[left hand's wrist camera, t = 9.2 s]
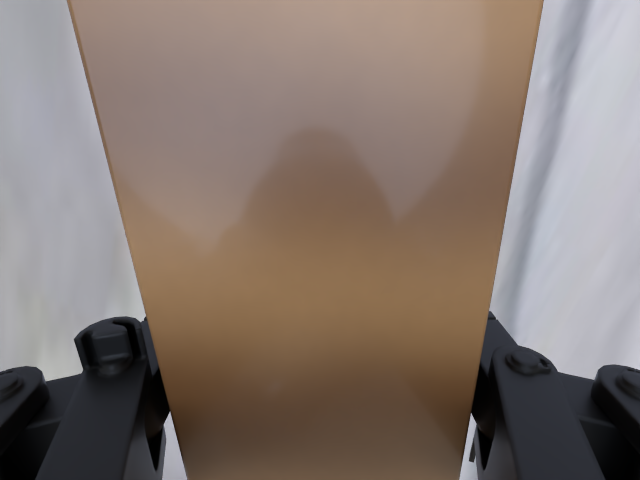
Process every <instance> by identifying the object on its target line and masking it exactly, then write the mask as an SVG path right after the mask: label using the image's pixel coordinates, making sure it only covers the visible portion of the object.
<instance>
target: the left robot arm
mask: <svg viewBox="0 0 640 480" xmlns="http://www.w3.org/2000/svg"><path fill="white" fill-rule="evenodd" d="M74 341H75V345H76V348H77V351H78V354H79V357H80V360H81V364H82V367H83V372H82V374H78V375H74V376H69V377H65V378H60V379H56V380H51V381H45V379H44V376H43V373H42V371H41V370H39V369H38V368H37V367H29V366H24V367H17V368H12V369H8V370H6V371H2V372H0V480H162V474H163V465H164V456H165V446H166V435H165V429H164V423H165V420H166V418H167V416H168V414H169V412H170V408H169V404H168V400H167V396H166V392H165V388H164V384H163V380H162V376H161V372H160V368H159V364H158V360H157V356H156V352H155V349H154V345H153V341H152V337H151V333H150V329H149V325H148V321H147V317H145V318H144V321H142V322H139V321H138V320H137V319H136V318H131V317H114V318H109V319H105V320H102V321H99V322H97V323H94V324H92V325H90V326H88V327H87V328H85V329H84V330H82V331H81V332H80V333H79V334H78V335H77V336H76V337H75V338H74ZM471 413H472V415H473V417H474V419H475V421H476V424H477V425H476V429H475V434H474V438H473V443H472V447H471V452H470V457H469V461H470V462H474V459H475V455H476V464H477V473H478V480H640V370H638V369H634V368H631V367H627V366H621V365H605V366H603V367H601V368H600V369H599V370H598V372H597V375H596V377H595V380H592V379H587V378H582V377H578V376H573V375H568V374H564V373H560V372H558V371H557V369H556V368H555V366H554V365H553V364H552V362H551V361H550V360H548V359H547V358H546V357H544V356H543V355H542V354H540V353H538V352H536V351H534V350H532V349H529V348H526V347H522V346H518V345H517V343H516V342H515V341H514V340H513V339H512V337H511V336H510V335H509V334H508V332H507V331H506V330H505V329H504V327H503V326H502V325H501V324H500V322H499V321H498V320H496V317H495V316H494V315H493V314H492V312H491V311H489V313H488V319H487V325H486V330H485V336H484V342H483V347H482V353H481V359H480V364H479V370H478V376H477V381H476V387H475V393H474V398H473V404H472V410H471Z"/></svg>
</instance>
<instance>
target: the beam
mask: <svg viewBox="0 0 640 480" xmlns="http://www.w3.org/2000/svg"><path fill="white" fill-rule="evenodd" d="M543 2H544V0H67V3H68V7H69V11H70V15H71V19H72V23H73V27H74V31H75V35H76V39H77V43H78V47H79V51H80V55H81V59H82V63H83V67H84V71H85V75H86V78H87V82H88V86H89V90H90V94H91V98H92V102H93V106H94V110H95V114H96V118H97V122H98V126H99V130H100V134H101V138H102V142H103V146H104V150H105V154H106V158H107V162H108V166H109V170H110V174H111V178H112V182H113V186H114V190H115V194H116V198H117V202H118V206H119V210H120V213H121V217H122V221H123V225H124V229H125V233H126V237H127V241H128V245H129V249H130V253H131V257H132V261H133V265H134V269H135V273H136V277H137V281H138V285H139V289H140V293H141V297H142V301H143V305H144V309H145V313H146V317H147V321H148V325H149V329H150V333H151V337H152V341H153V345H154V349H155V352H156V356H157V360H158V364H159V368H160V372H161V376H162V380H163V384H164V388H165V392H166V396H167V400H168V404H169V408H170V412H171V416H172V420H173V424H174V428H175V432H176V436H177V440H178V444H179V448H180V452H181V456H182V460H183V464H184V468H185V472H186V476H187V480H459V478H460V472H461V466H462V461H463V455H464V449H465V444H466V438H467V432H468V427H469V421H470V415H471V410H472V404H473V398H474V393H475V387H476V381H477V376H478V370H479V364H480V359H481V353H482V347H483V342H484V336H485V330H486V325H487V319H488V313H489V308H490V302H491V296H492V291H493V285H494V279H495V274H496V268H497V262H498V257H499V251H500V245H501V240H502V234H503V228H504V223H505V217H506V211H507V206H508V200H509V194H510V189H511V183H512V177H513V172H514V166H515V160H516V155H517V149H518V143H519V138H520V132H521V126H522V121H523V115H524V109H525V104H526V98H527V92H528V87H529V81H530V75H531V70H532V64H533V58H534V53H535V47H536V41H537V36H538V30H539V24H540V19H541V13H542V7H543Z"/></svg>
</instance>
